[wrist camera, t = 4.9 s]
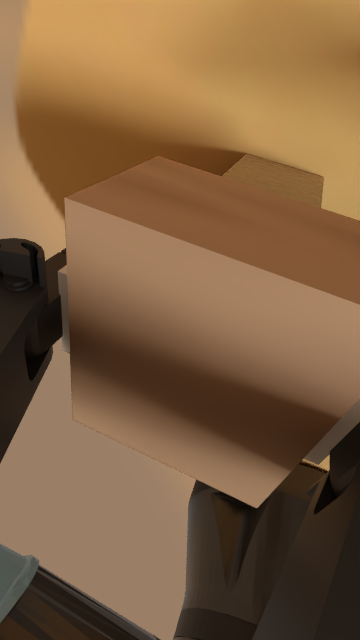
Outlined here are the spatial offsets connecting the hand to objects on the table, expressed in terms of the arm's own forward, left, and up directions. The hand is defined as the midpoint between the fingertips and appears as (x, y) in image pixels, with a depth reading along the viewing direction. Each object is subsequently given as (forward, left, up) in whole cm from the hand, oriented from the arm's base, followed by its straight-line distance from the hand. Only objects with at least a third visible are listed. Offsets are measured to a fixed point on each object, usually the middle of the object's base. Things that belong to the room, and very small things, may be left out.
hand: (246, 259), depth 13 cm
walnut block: (0, 0, +3) cm, 3 cm away
